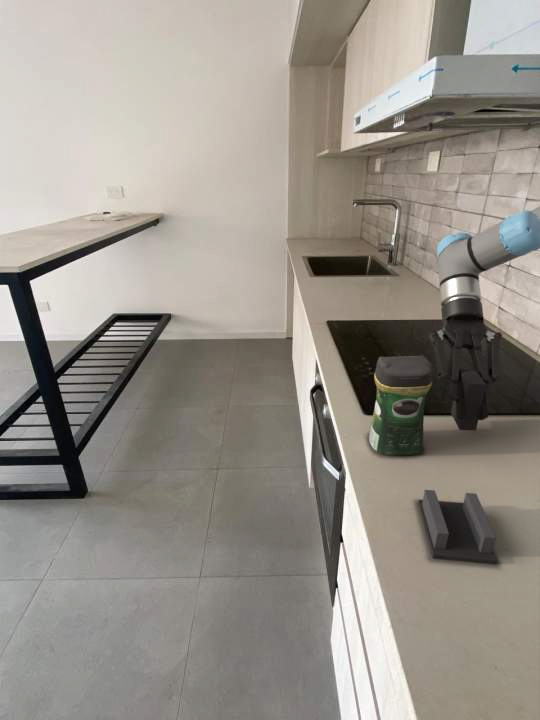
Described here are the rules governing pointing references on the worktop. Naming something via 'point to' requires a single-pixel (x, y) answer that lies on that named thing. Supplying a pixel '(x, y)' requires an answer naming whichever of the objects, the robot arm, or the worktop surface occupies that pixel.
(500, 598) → the worktop surface
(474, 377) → the dark gray block
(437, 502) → the base pad
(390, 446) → the coffee jar
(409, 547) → the worktop surface
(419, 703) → the worktop surface
